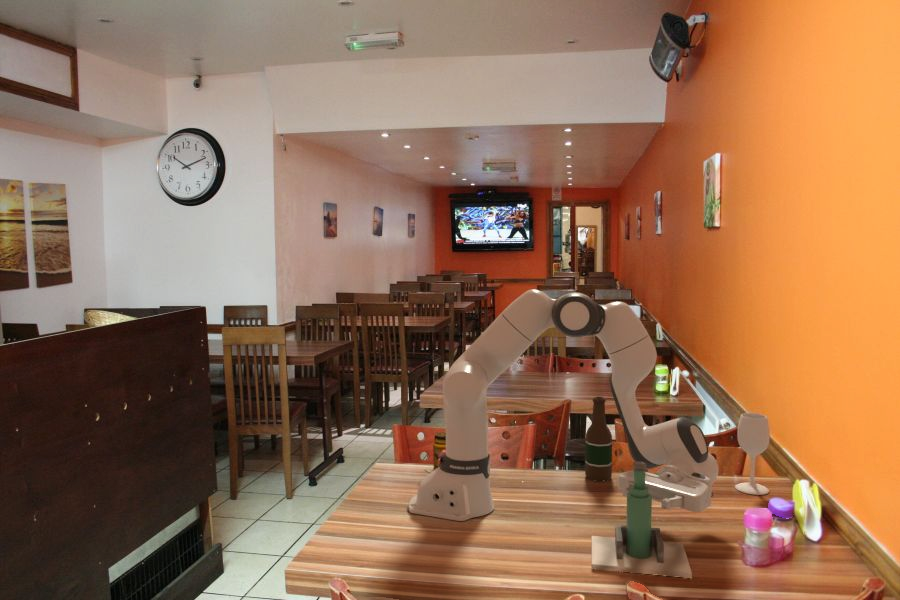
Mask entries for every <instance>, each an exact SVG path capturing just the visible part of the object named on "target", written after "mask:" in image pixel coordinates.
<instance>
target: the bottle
mask: <svg viewBox="0 0 900 600" xmlns="http://www.w3.org/2000/svg"><path fill="white" fill-rule="evenodd" d="M632 468H633V470H634V485H632V486H630V492H628V493H627V497H626V524H625V526H626V553H627V554H628V555H629V556H631V557H633V558H638V559H645V558H649V557H650V556H651V528H652V518H653V517H652V516H653V515H652V510H653V507H652V505H653V504H652V503H653V500H652V495H651V494H649V493H648V491H649V488H648V487H646V486H645V472H646V470H647V468H646V463H645V462H640V461H636V462H635V461H633V462H632Z"/></svg>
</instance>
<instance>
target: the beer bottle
mask: <svg viewBox="0 0 900 600" xmlns="http://www.w3.org/2000/svg"><path fill="white" fill-rule="evenodd" d="M592 402H593V406H592V420H591V424H590V426H589V427H588V429H587V430H586V433H585V438H584V439H585V440H584V441H585V442H584V449H585V451H584V452H585V453H584V463H585V464H584V472H585V473H584V474H585V475H584V476H585V477H586V478H587V479H588V480H589V479H590V480H589V481H593V480H596V481H595V482H598V481H599V482H604V481H603V480H608V481H609V480H610V479H612V474H613V435H612V432H611V430H610V428H609V427H608V425H607V420H606V405H605V404H606V402H607V400H606V398H604V396H603V397H602V396H595V397H593V398H592Z"/></svg>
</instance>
